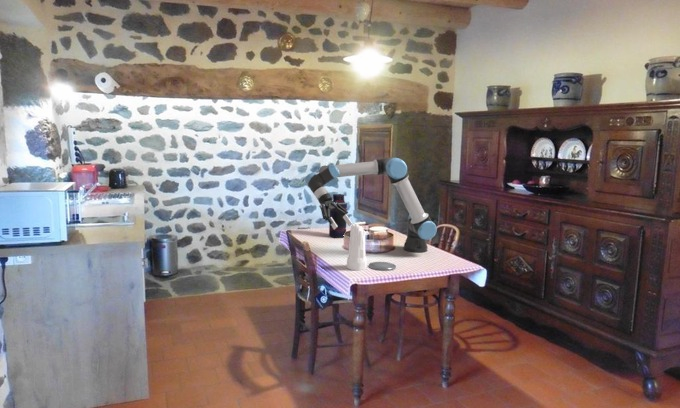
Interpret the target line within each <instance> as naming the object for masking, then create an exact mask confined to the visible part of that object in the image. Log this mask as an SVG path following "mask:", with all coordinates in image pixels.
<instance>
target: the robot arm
mask: <svg viewBox="0 0 680 408" xmlns="http://www.w3.org/2000/svg"><path fill="white" fill-rule="evenodd" d="M373 174H374V175H376V176H381V175H382V176H386V177H387V178H388V180H389V181H390V184H392V185H394V186H395V189H396V191H397V192H398V194H399V196H400V198H401V200H402V203H403V204H404V206H405V208H406V210H407V212H408V214H409V215H408V217H407V231H406V239H405V242H404V244H403V250H404V251H406V252H411V253H425V252H428V250H429V247H428V244H427V241H428V240H431V239H433V238H434V237H435V236H436V235H437V231H438V229H437V225H436V224H435V222H433V221H432V219H431V217H430V215H429V213H428V212H425V210H424V208H423V206H422V205H421V202H420V201H419V199H418V196H417V194H416V192H415V190H414V188H413V186H412V184H411V182H410V180H409V176H410V175H409V172H408V166H407V163H406V162H405V161H404V160H403V159H401V158H398V157H393V156H387V157H383V158H376V159H374V160H373V161H372V160H371V161H363V162H355V163H354V162H353V163H340V164H333V163H332V164H331V165H322V166H320V167H319V169H318V173H316V172H315V171H314V172H310V173H308V174H307V175H305V178H304V181H305V183H306V185H307V186H308V188H309V190H311V193H313V195H314V196H315V198H316V200H318V203H319V206H318V207H319V208H320V209H319V210H320V212H321V216H322V219H323V220H324V221H327V222H328V223H330V224H331V226H332V227H333V229H336V228H337V227H338V226H337V225H336V223H335V222H334V220H333V219H332V217H330V210H333V211H336V212H337V213H339V214H340V215H342V216H343V218H344V220H345V221H346V225H347V226H348V227H351V226H352V225H353V222H352V220H351V219H350V217H349V216H348V215H347V214H348V213H349V211H346V210H345V209H344V208H343V207H342V206H341V205H339V204H338V202H337V201H335V202H333V196H332V195H331V194H330V193H329V190H328V189H327V188H326V187H325V185H327V184H328V183H330V182H331V181H333V180H334V179H337V178H341V177H342V178H343V177H353V176H365V175H373Z"/></svg>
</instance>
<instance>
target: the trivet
mask: <svg viewBox="0 0 680 408" xmlns="http://www.w3.org/2000/svg"><path fill="white" fill-rule="evenodd" d="M368 267H369V268H370V269H372V270H375V271H382V272H384V271H385V272H387V271H389V272H390V271H394V270H395V269H397V266H396V264H395V263H391V262H386V261H373V262H370V263H368Z"/></svg>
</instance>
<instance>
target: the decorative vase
mask: <svg viewBox="0 0 680 408" xmlns="http://www.w3.org/2000/svg"><path fill="white" fill-rule="evenodd" d="M349 236H350V239H349V244H348V256H347V259H346V268H347V270H348V269H349V270H350V271H351V270H352V271H364V270H366V269H367V267H368V266H367V265H368V264H367V263H368V260H367V257H366V231H365V229H364V228H363V226H362V225H361V226H360V224H358V223H354V222H352V224H351V225H350V235H349Z"/></svg>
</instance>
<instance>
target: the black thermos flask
mask: <svg viewBox="0 0 680 408" xmlns="http://www.w3.org/2000/svg"><path fill="white" fill-rule="evenodd" d="M332 201H333V202H335V201H337V202H338V204H339V205H341V206H342V207H343V208H344V209H345V210H346V211H347V210H348V203H347V202H346V201H345V194H342V193H335V194H332ZM347 212H348V211H347ZM330 217H332V219H333V220H334V222H335V223H336V225H337V226H338V227H337V228H336V229H333V227H332V226H331V224H330V223H329V222H328V223H329V227H328V228H329V230H328V233H329V236H330V237H332V238H333V239H337V238H340V237H341V238H343V235H344V233H345V232H346V233H347V223H346V221H345V220H344V218H343V216H342V215H340V214H339V213H337V212H336V211H333V210H330Z"/></svg>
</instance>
